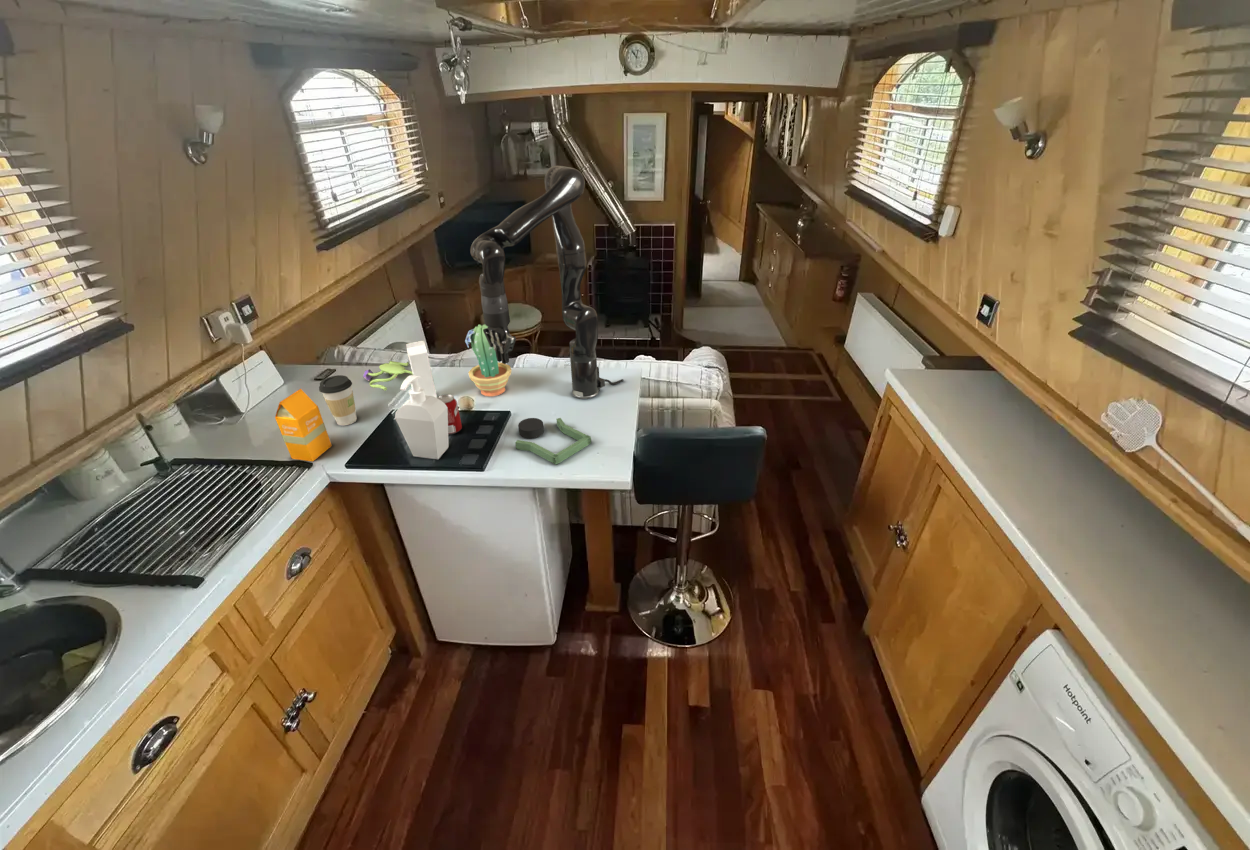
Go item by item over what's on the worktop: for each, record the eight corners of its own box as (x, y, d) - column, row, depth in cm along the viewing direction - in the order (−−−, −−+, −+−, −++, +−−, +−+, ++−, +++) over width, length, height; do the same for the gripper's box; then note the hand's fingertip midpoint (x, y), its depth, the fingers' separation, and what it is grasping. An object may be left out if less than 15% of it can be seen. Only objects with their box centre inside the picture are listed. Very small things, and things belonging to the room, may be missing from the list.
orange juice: (332, 445, 174) (312, 389, 163) (312, 461, 167) (290, 403, 156) (310, 442, 175) (289, 387, 165) (290, 458, 168) (267, 401, 158)
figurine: (376, 401, 198) (372, 388, 195) (359, 374, 217) (355, 361, 214) (427, 387, 207) (424, 374, 204) (406, 362, 225) (403, 350, 223)
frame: (559, 423, 183) (559, 417, 182) (595, 440, 174) (595, 434, 173) (515, 448, 171) (514, 441, 170) (550, 468, 162) (550, 461, 160)
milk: (418, 397, 200) (404, 340, 189) (435, 393, 202) (422, 337, 191) (420, 404, 195) (406, 346, 184) (438, 400, 198) (425, 343, 186)
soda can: (456, 437, 177) (449, 404, 171) (437, 435, 178) (429, 402, 172) (465, 426, 183) (459, 394, 176) (447, 424, 184) (440, 392, 177)
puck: (532, 423, 184) (531, 415, 182) (549, 431, 179) (548, 423, 177) (514, 433, 178) (512, 425, 177) (530, 441, 174) (529, 433, 172)
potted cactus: (488, 378, 212) (478, 316, 199) (522, 385, 207) (514, 321, 194) (462, 395, 201) (450, 331, 187) (497, 404, 195) (487, 337, 182)
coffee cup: (369, 416, 189) (357, 377, 181) (345, 430, 181) (332, 390, 173) (348, 411, 192) (335, 372, 185) (324, 424, 185) (310, 384, 177)
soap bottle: (402, 460, 166) (381, 384, 153) (419, 442, 175) (401, 368, 161) (439, 465, 164) (421, 387, 150) (455, 446, 172) (439, 371, 159)
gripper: (520, 310, 162) (526, 363, 171) (491, 300, 170) (498, 352, 179) (500, 317, 158) (507, 372, 167) (471, 307, 165) (479, 360, 174)
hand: (503, 361), depth 173 cm, fingers closed
